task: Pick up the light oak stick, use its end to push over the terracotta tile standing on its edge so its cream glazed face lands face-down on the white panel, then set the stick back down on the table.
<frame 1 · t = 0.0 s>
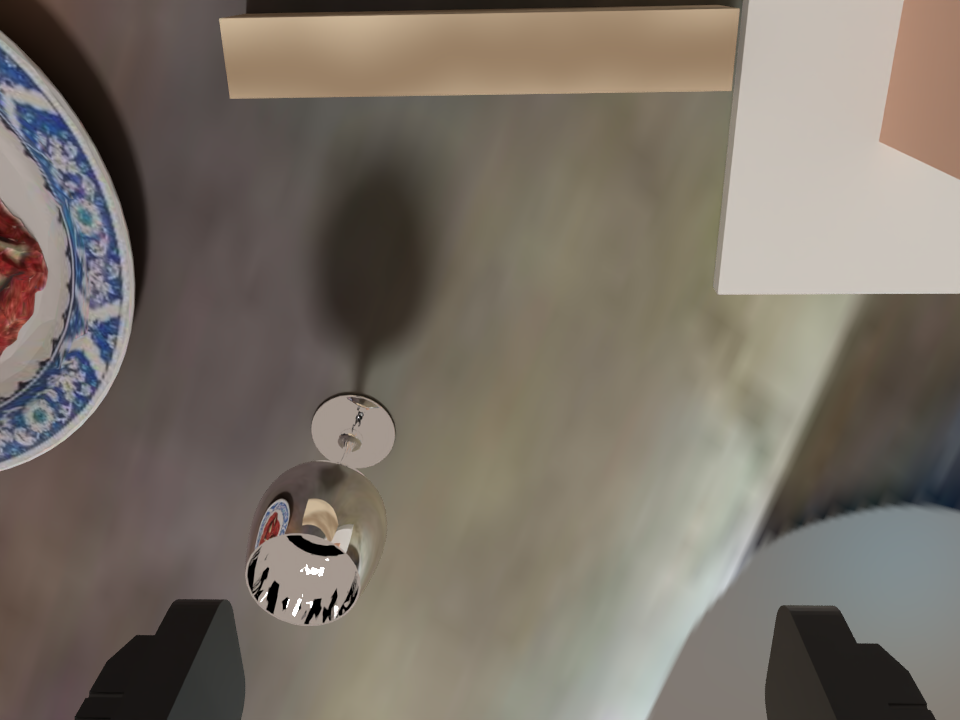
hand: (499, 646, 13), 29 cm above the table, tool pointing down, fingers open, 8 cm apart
wineglass: (353, 430, 45), on the table
tile: (916, 42, 35), point 1 cm above the table, touching white panel
oak stick: (480, 46, 37), on the table
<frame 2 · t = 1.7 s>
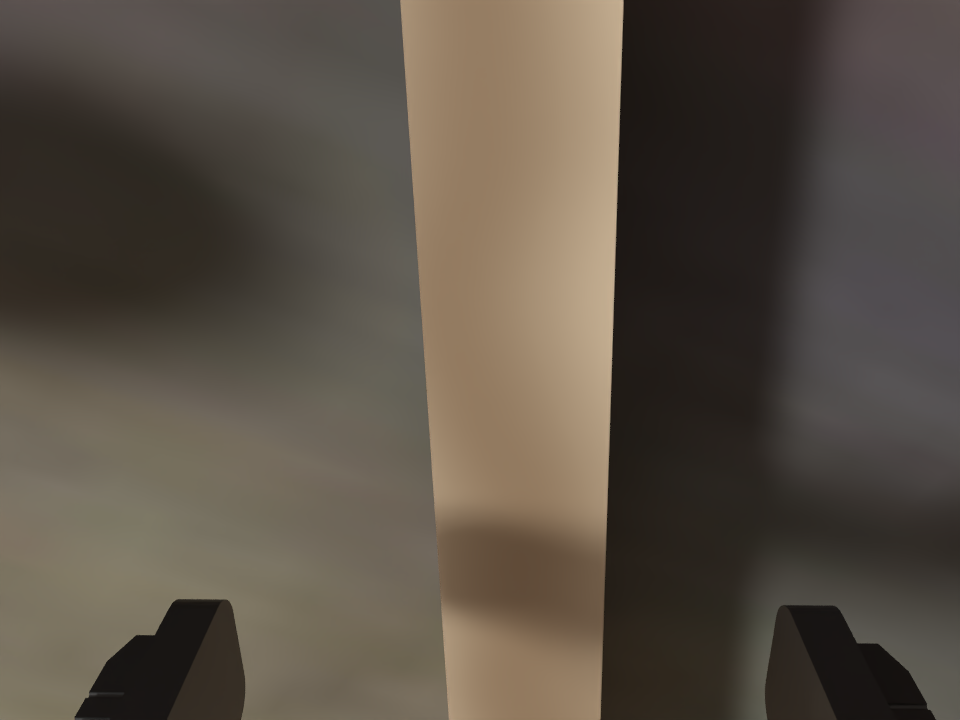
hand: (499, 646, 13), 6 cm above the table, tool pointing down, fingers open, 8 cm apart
oak stick: (521, 437, 19), on the table
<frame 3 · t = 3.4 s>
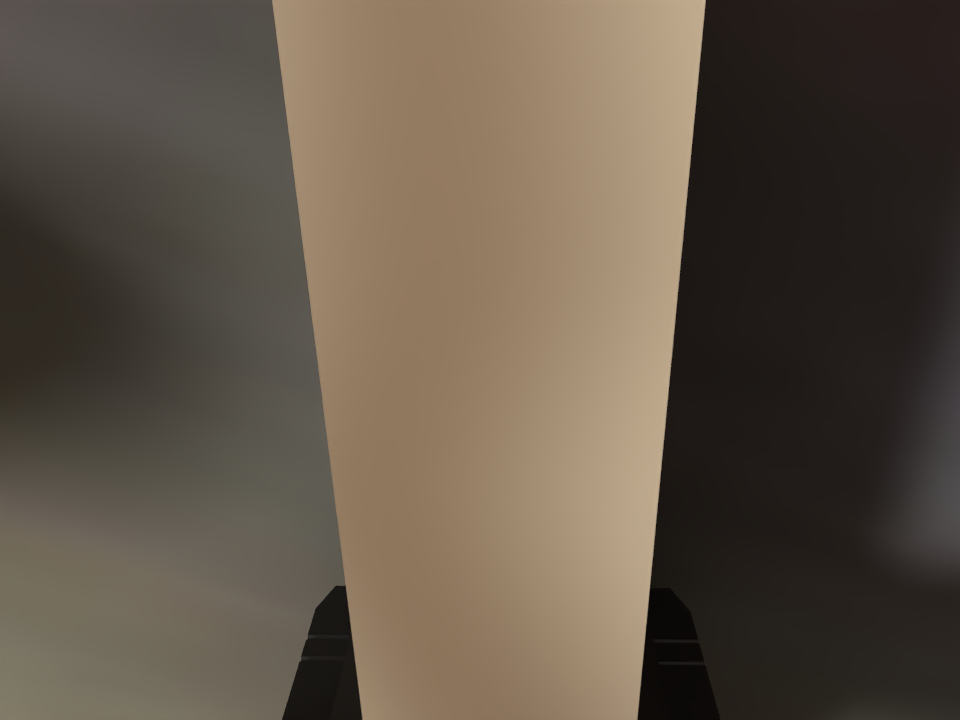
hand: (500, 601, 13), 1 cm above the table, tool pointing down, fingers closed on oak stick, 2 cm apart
oak stick: (501, 586, 14), on the table, touching gripper
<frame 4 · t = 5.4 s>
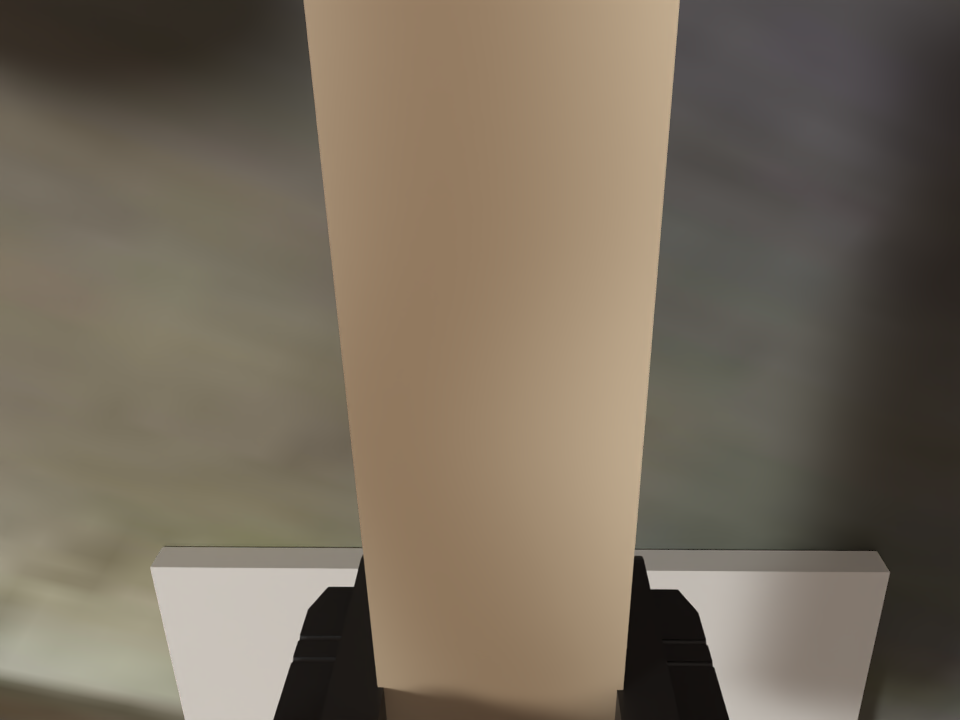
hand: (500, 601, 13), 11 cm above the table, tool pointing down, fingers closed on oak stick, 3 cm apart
oak stick: (503, 547, 14), point 10 cm above the table, touching gripper
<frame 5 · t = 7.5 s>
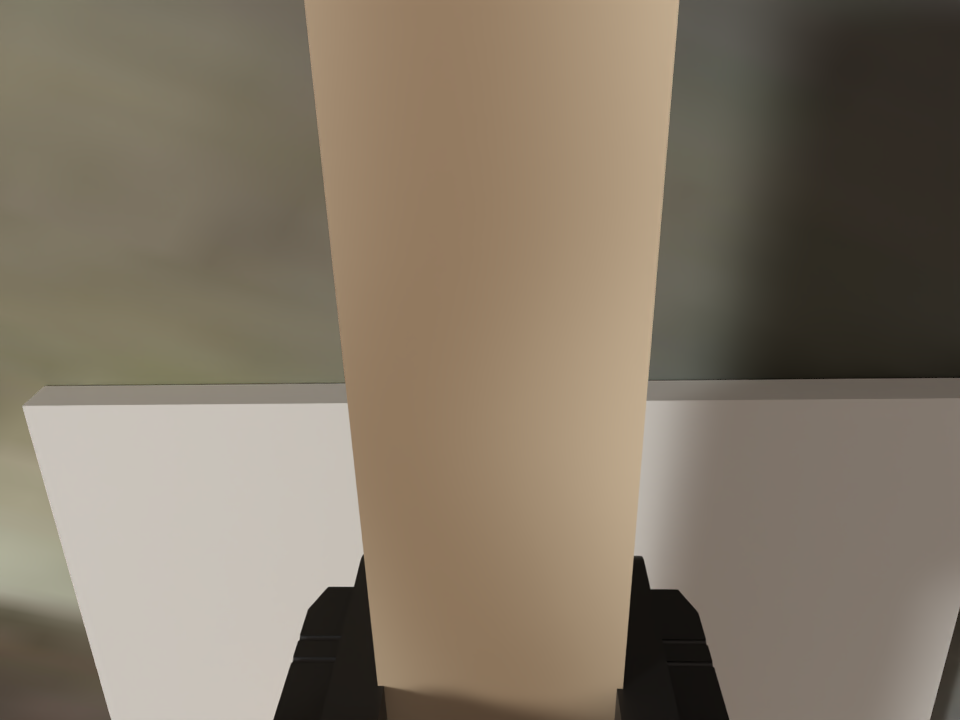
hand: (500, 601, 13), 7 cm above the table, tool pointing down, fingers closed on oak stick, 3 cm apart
oak stick: (503, 545, 15), point 6 cm above the table, touching gripper
white panel: (511, 700, 24), on the table
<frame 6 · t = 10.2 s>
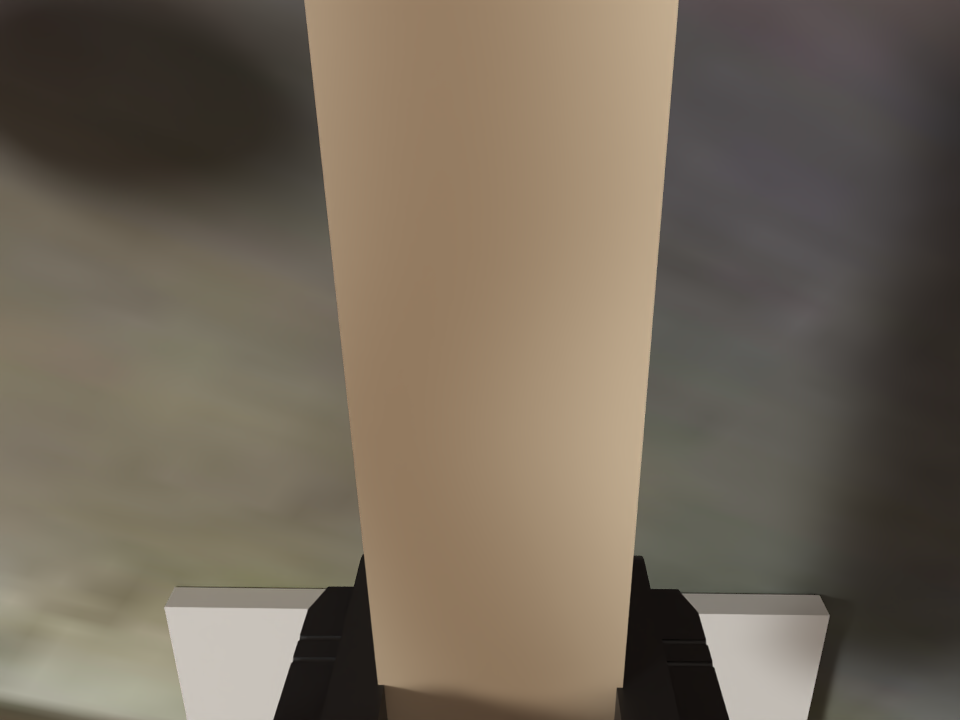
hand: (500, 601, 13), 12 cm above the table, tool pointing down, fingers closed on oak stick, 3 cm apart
oak stick: (503, 545, 15), point 11 cm above the table, touching gripper
when the fingers open (3 cm above the table, at t = 12.9 s): oak stick drops 2 cm, on the table.
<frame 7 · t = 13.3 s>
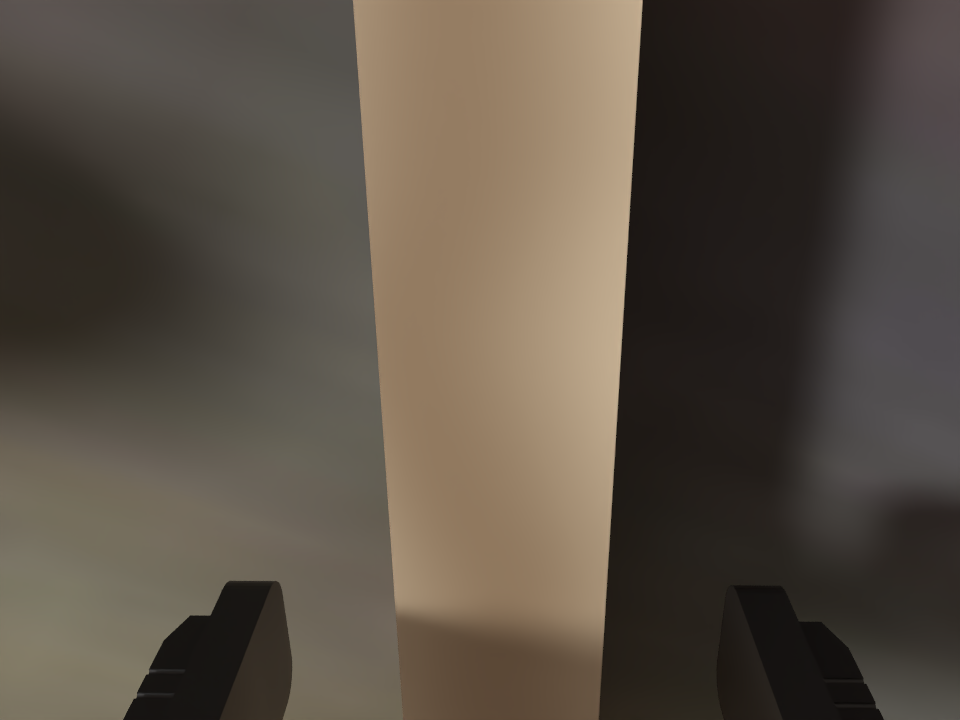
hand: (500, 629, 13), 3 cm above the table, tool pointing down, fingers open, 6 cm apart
oak stick: (503, 488, 16), on the table
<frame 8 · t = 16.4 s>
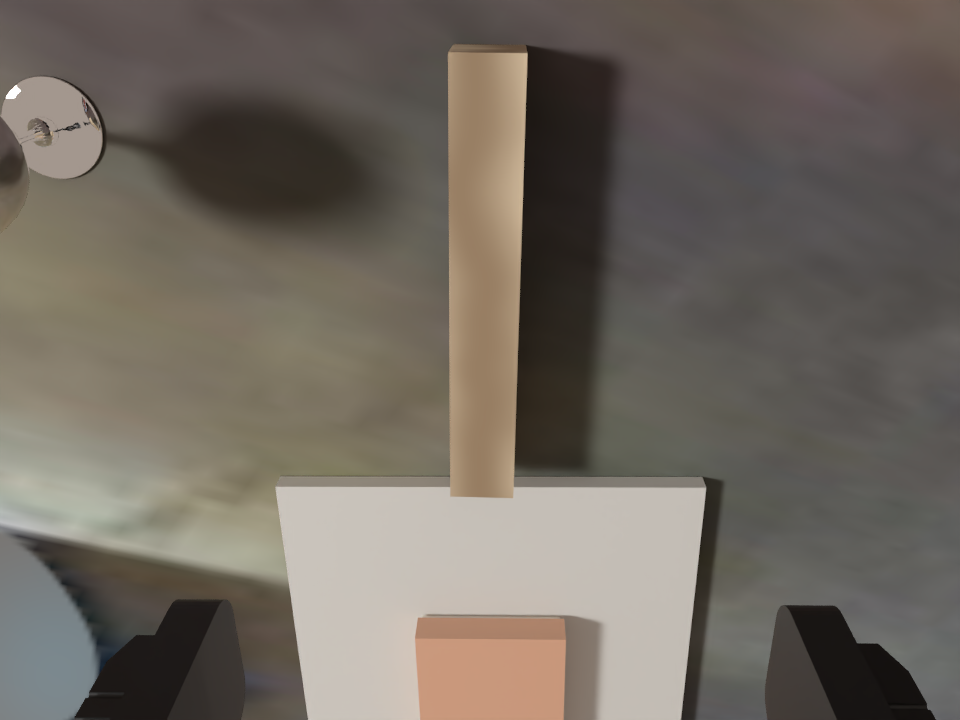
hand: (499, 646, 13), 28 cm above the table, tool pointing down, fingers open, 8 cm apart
wineglass: (55, 127, 38), on the table
tile: (490, 628, 46), point 2 cm above the table, tilted 90°, touching white panel
oak stick: (486, 270, 40), on the table
white panel: (491, 625, 49), on the table
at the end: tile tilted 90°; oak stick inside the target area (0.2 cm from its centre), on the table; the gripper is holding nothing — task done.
